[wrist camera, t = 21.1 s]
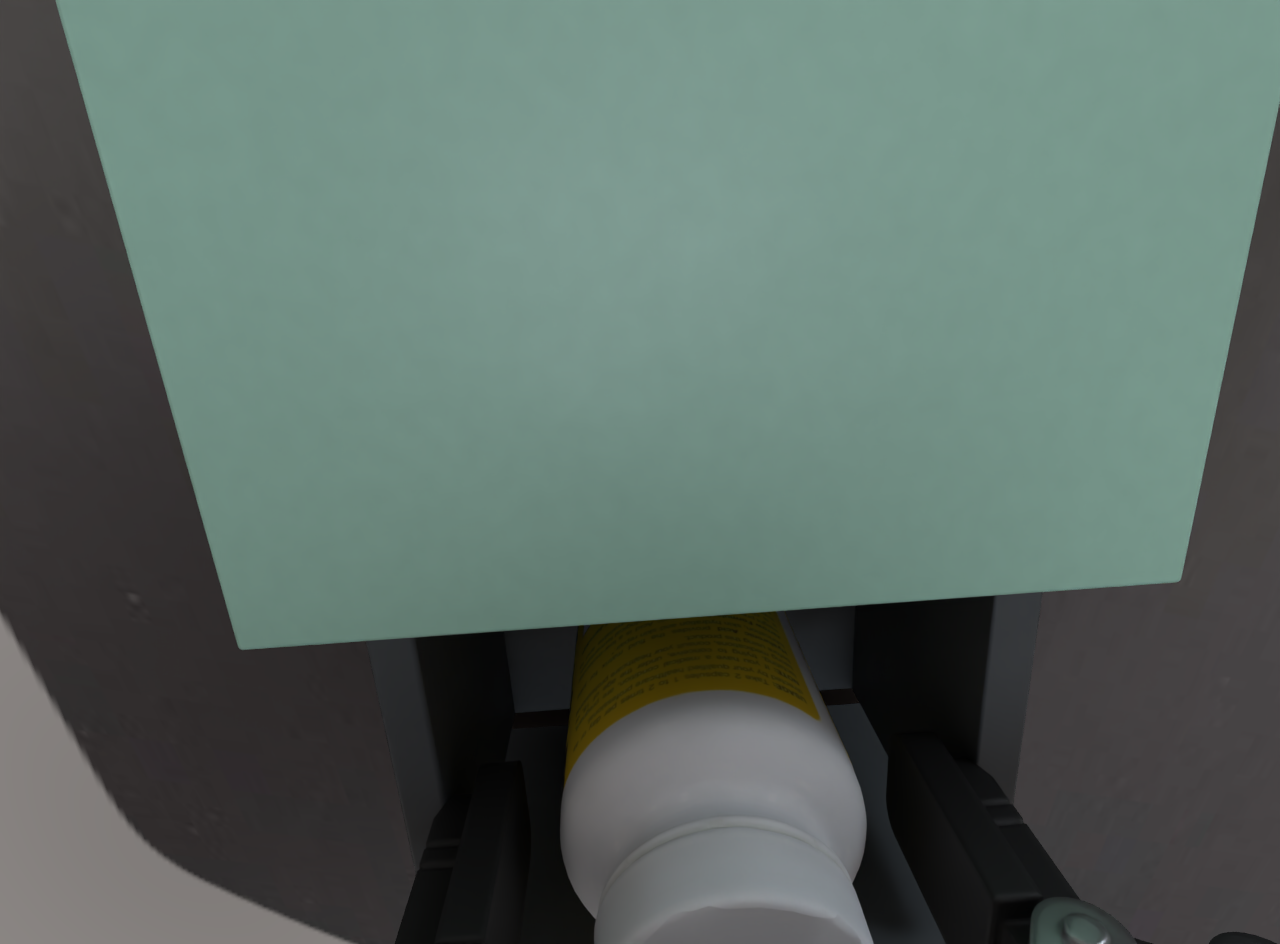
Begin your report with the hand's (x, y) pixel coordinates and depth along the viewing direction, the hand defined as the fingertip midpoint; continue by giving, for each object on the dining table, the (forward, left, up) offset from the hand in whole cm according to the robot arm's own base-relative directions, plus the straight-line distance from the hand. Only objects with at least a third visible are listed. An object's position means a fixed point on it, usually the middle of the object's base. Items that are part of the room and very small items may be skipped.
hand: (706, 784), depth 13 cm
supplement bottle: (0, 0, -6) cm, 6 cm away
